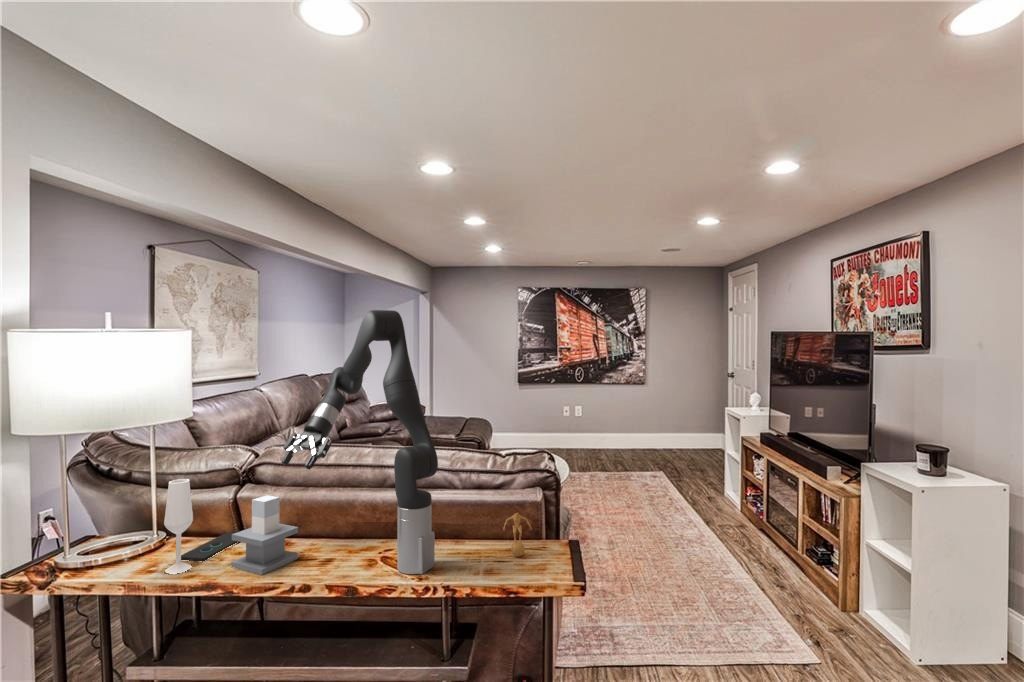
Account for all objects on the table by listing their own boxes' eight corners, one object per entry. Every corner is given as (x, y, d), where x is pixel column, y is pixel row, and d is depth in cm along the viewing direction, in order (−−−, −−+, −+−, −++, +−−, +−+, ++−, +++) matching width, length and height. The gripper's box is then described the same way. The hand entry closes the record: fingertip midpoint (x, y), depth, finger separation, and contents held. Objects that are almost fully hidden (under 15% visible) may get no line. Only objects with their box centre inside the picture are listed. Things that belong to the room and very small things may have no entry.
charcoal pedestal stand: (298, 558, 149) (298, 527, 149) (262, 575, 138) (262, 541, 138) (268, 551, 154) (268, 521, 154) (231, 567, 143) (231, 534, 143)
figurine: (504, 559, 148) (504, 517, 148) (502, 551, 154) (502, 510, 154) (533, 558, 149) (533, 516, 149) (530, 550, 155) (529, 509, 155)
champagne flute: (157, 574, 138) (158, 484, 139) (174, 564, 145) (175, 478, 145) (182, 574, 138) (183, 484, 139) (198, 564, 145) (198, 478, 145)
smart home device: (177, 556, 147) (226, 531, 167) (177, 562, 147) (226, 537, 167) (203, 558, 146) (249, 533, 166) (203, 564, 146) (249, 538, 166)
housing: (279, 529, 147) (279, 497, 147) (264, 534, 143) (264, 501, 143) (267, 526, 149) (267, 495, 149) (251, 532, 145) (251, 499, 145)
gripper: (298, 412, 164) (269, 456, 154) (335, 416, 159) (308, 462, 149) (309, 425, 169) (282, 469, 159) (346, 430, 165) (320, 475, 154)
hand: (295, 466), depth 154 cm, fingers open, 8 cm apart
